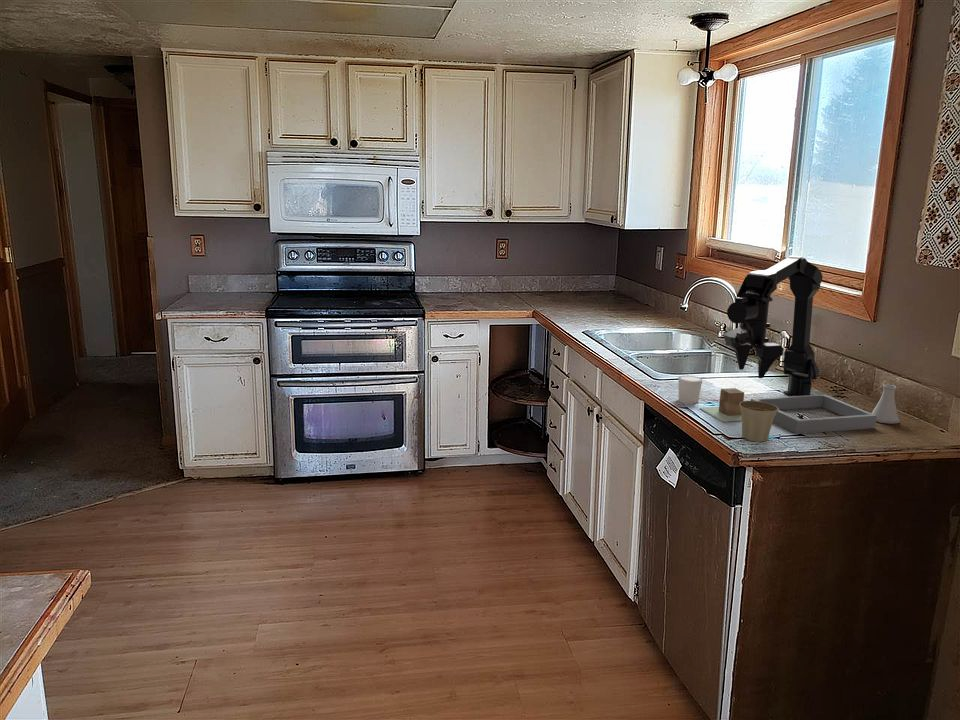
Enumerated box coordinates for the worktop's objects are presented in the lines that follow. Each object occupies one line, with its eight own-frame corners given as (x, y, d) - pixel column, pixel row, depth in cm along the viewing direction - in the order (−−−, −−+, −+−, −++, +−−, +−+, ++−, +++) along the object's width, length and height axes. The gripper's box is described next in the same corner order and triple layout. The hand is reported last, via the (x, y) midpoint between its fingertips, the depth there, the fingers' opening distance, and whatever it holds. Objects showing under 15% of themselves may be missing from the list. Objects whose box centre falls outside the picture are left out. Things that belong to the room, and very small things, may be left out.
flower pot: (763, 431, 193) (766, 400, 191) (782, 444, 184) (786, 411, 182) (729, 432, 192) (732, 400, 190) (746, 445, 183) (750, 411, 181)
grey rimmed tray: (749, 410, 211) (751, 398, 210) (822, 405, 217) (824, 394, 216) (796, 433, 192) (797, 421, 191) (874, 428, 198) (876, 415, 197)
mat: (699, 409, 211) (699, 407, 211) (736, 406, 214) (736, 405, 214) (722, 422, 200) (723, 420, 200) (761, 419, 203) (761, 418, 203)
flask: (889, 416, 208) (895, 382, 206) (904, 424, 201) (910, 389, 199) (864, 416, 208) (869, 382, 206) (878, 424, 201) (884, 389, 199)
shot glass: (684, 396, 224) (686, 374, 222) (704, 401, 219) (706, 378, 217) (671, 400, 219) (673, 377, 217) (692, 405, 214) (694, 382, 213)
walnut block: (718, 410, 209) (720, 388, 207) (732, 410, 210) (735, 388, 208) (727, 415, 204) (729, 393, 203) (741, 414, 205) (744, 392, 204)
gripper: (711, 313, 209) (707, 367, 213) (750, 327, 192) (744, 384, 195) (746, 312, 212) (741, 364, 216) (787, 325, 194) (781, 382, 198)
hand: (750, 373), depth 206 cm, fingers open, 9 cm apart
